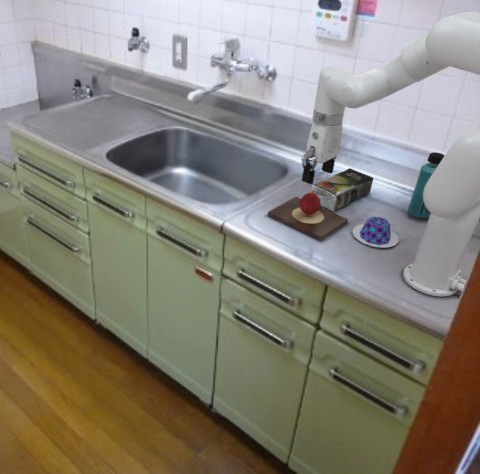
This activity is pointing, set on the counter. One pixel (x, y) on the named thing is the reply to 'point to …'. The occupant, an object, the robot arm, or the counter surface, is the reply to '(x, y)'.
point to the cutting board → (308, 219)
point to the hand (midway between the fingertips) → (317, 177)
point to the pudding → (376, 233)
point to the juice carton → (342, 189)
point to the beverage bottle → (423, 186)
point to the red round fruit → (310, 203)
